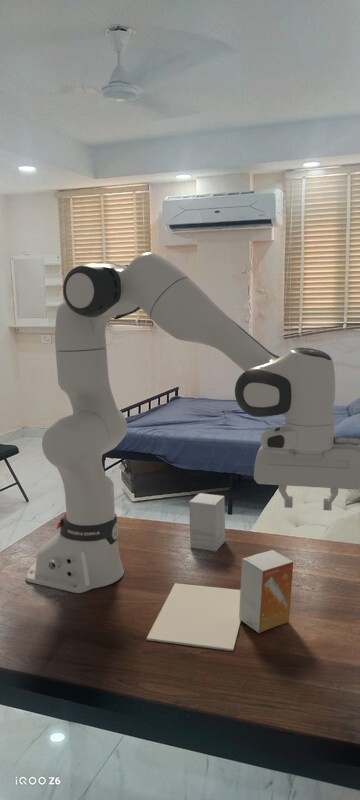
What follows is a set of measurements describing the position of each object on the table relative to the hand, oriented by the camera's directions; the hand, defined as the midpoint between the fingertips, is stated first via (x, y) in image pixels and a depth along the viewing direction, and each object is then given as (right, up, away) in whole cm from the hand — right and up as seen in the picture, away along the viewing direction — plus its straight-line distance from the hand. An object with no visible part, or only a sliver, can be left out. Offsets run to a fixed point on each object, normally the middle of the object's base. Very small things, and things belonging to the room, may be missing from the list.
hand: (307, 508), depth 110 cm
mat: (-20, -23, +9) cm, 32 cm away
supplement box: (-17, -18, +43) cm, 49 cm away
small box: (-7, -24, +6) cm, 25 cm away
